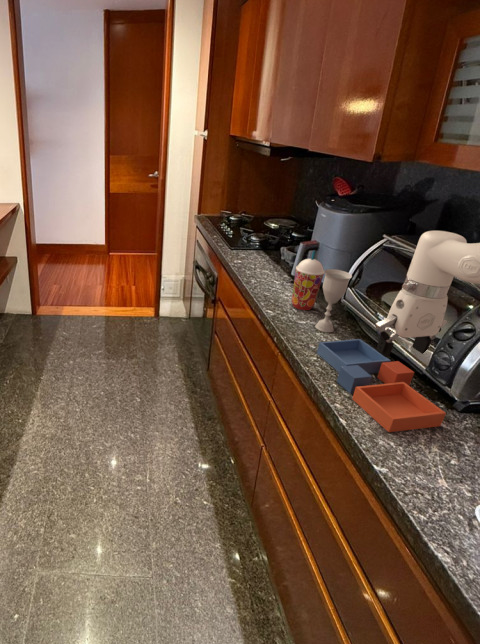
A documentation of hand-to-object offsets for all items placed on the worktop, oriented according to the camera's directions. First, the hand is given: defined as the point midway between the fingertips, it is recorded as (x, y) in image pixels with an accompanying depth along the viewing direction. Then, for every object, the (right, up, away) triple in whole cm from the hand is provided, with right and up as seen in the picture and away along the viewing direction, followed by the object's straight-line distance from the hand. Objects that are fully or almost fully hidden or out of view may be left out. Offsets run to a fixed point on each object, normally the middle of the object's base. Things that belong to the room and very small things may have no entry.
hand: (400, 352), depth 91 cm
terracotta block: (0, -8, +3) cm, 8 cm away
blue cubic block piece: (-11, -9, +1) cm, 14 cm away
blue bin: (-5, -5, +11) cm, 13 cm away
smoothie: (-2, +7, +40) cm, 41 cm away
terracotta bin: (-6, -12, -6) cm, 15 cm away
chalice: (-2, +2, +27) cm, 27 cm away
